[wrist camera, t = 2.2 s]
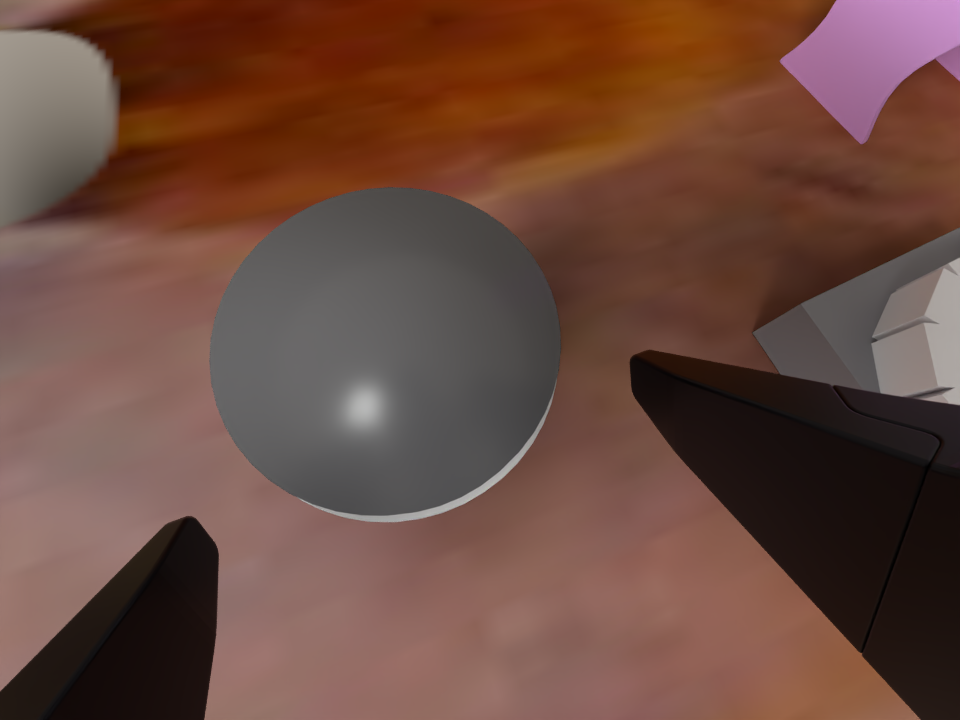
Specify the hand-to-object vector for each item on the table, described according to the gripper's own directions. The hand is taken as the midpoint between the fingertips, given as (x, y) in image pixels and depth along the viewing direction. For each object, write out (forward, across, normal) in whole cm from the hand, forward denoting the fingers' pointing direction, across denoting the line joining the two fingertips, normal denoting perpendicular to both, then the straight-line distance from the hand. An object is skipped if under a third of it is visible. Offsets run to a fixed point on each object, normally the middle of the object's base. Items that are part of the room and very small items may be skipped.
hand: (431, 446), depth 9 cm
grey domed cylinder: (+7, 0, +6) cm, 9 cm away
